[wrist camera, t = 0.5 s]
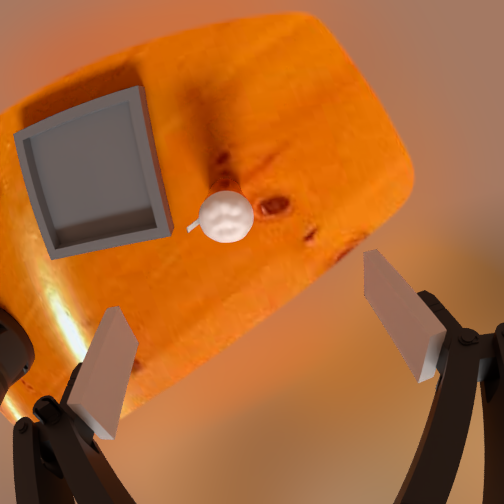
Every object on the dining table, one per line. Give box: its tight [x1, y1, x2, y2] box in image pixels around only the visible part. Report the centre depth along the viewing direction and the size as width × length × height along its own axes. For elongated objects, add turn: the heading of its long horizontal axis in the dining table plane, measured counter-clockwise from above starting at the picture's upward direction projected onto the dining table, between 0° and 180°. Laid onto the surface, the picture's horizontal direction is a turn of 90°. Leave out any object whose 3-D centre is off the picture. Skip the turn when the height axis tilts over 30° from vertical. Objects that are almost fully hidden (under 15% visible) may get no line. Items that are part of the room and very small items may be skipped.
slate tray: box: [13, 86, 174, 260], centre depth 29 cm, size 16×16×2 cm
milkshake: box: [187, 178, 254, 242], centre depth 28 cm, size 4×5×10 cm
